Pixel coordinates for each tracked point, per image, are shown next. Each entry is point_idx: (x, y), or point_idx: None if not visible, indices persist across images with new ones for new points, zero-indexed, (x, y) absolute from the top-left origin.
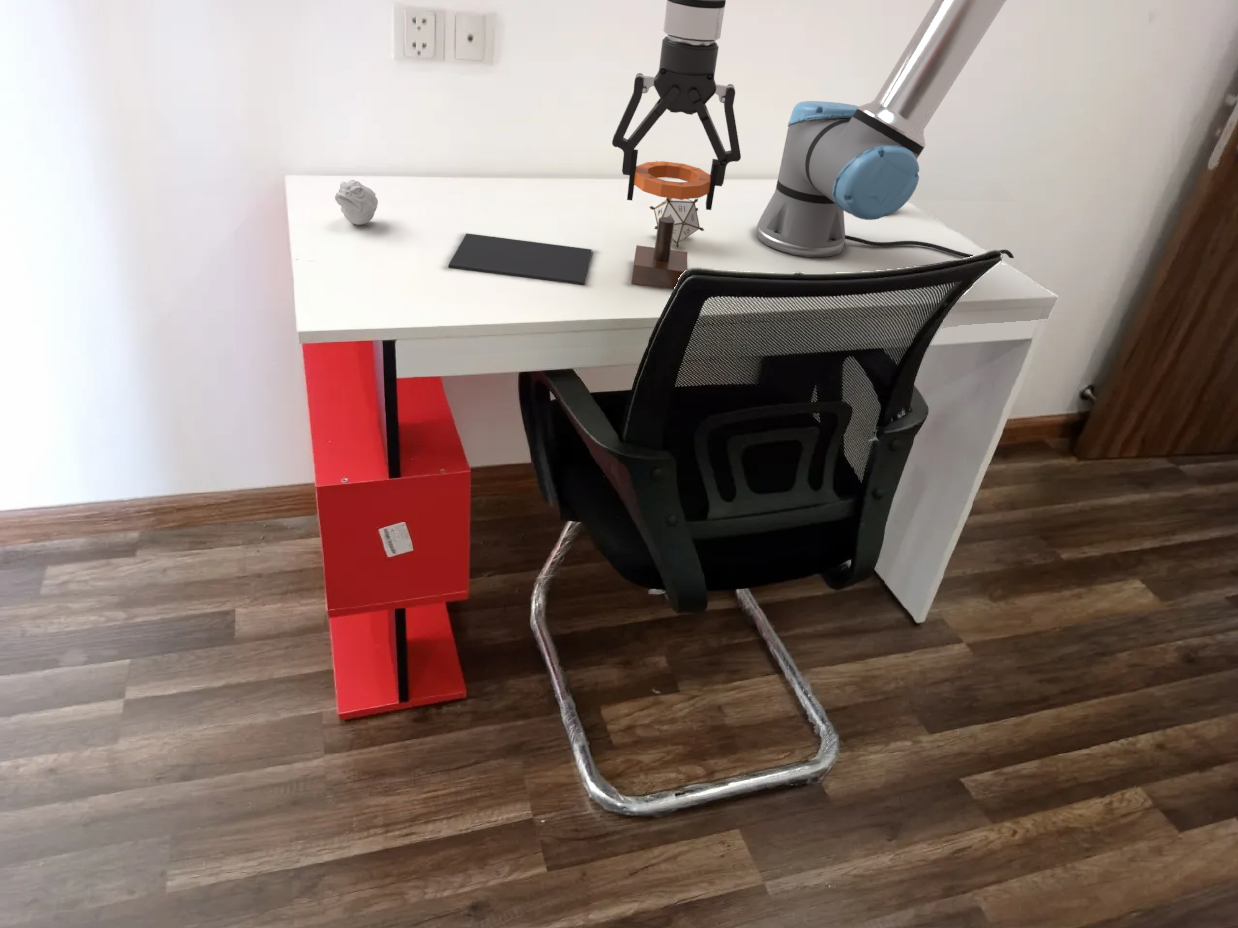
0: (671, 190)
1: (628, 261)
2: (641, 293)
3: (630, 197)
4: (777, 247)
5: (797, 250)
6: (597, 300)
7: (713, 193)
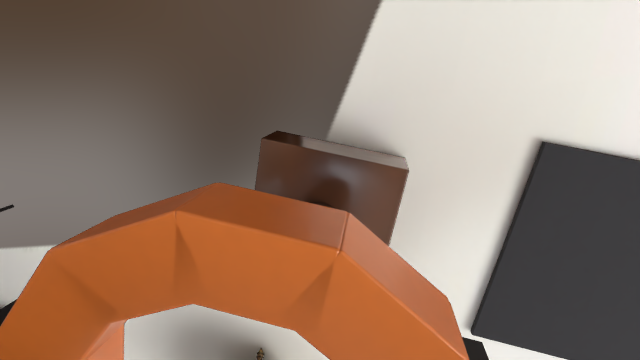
0: (269, 215)
1: None
2: (388, 104)
3: (470, 348)
4: None
5: None
6: (524, 44)
7: None
